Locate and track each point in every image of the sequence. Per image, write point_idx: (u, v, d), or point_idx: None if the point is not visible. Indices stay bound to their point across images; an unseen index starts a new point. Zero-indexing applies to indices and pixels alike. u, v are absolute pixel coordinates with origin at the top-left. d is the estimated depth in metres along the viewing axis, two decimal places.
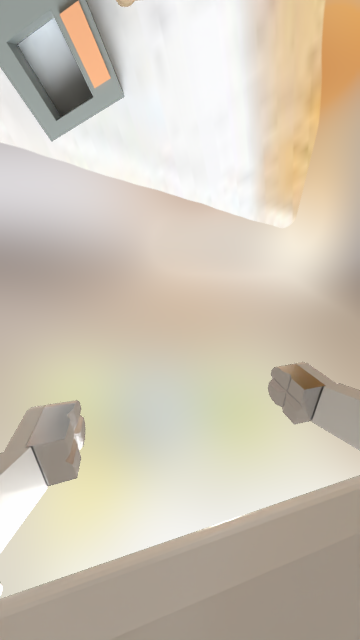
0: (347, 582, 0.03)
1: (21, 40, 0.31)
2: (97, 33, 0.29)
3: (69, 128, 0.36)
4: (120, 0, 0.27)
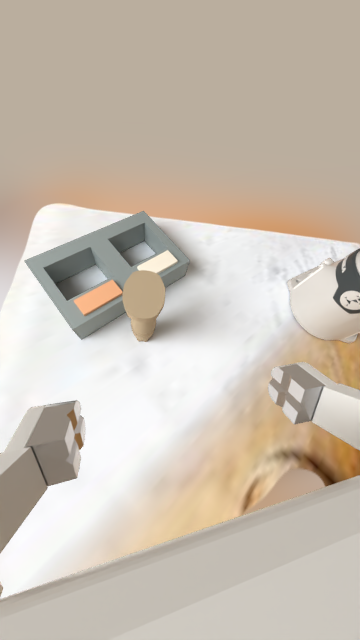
0: (347, 582, 0.03)
1: (98, 266, 0.41)
2: (110, 305, 0.33)
3: (37, 277, 0.33)
4: None
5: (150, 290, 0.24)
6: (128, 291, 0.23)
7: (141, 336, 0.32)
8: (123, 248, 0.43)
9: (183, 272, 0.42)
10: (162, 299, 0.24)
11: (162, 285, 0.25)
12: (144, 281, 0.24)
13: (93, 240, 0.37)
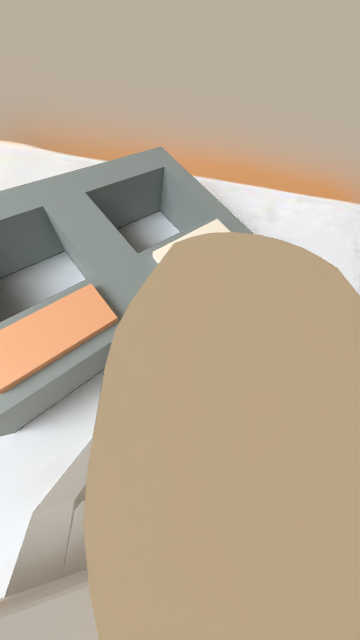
0: None
1: (68, 254, 0.20)
2: (82, 356, 0.12)
3: None
4: None
5: (324, 379, 0.03)
6: (150, 413, 0.02)
7: None
8: (121, 222, 0.22)
9: None
10: None
11: None
12: (259, 308, 0.03)
13: (51, 193, 0.16)
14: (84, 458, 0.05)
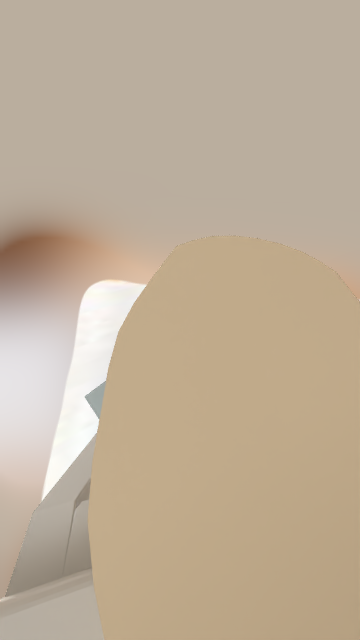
0: None
1: None
2: None
3: None
4: None
5: (322, 380, 0.03)
6: (152, 414, 0.02)
7: None
8: None
9: None
10: None
11: None
12: (258, 311, 0.03)
13: None
14: (84, 458, 0.05)
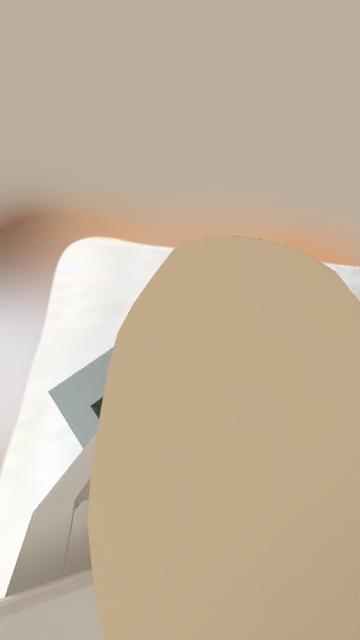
0: None
1: None
2: None
3: (80, 436, 0.14)
4: None
5: (322, 381, 0.03)
6: (153, 414, 0.02)
7: None
8: None
9: None
10: None
11: None
12: (258, 311, 0.03)
13: None
14: (84, 458, 0.05)
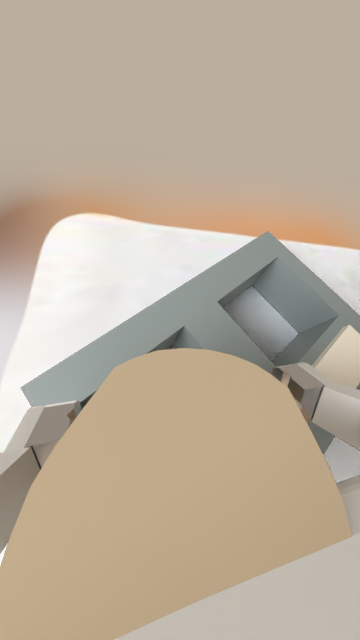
0: (347, 582, 0.03)
1: None
2: None
3: None
4: None
5: (250, 540, 0.03)
6: (48, 599, 0.02)
7: None
8: (223, 306, 0.21)
9: None
10: None
11: (321, 475, 0.03)
12: (193, 447, 0.03)
13: (187, 308, 0.16)
14: None
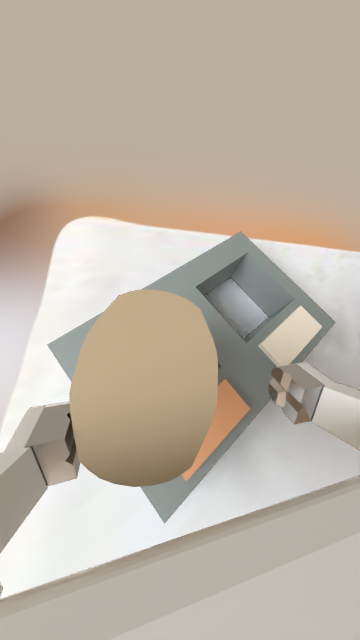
0: (347, 582, 0.03)
1: None
2: (229, 442, 0.16)
3: None
4: None
5: (173, 358, 0.07)
6: (96, 365, 0.07)
7: None
8: (204, 293, 0.26)
9: None
10: (210, 395, 0.07)
11: (208, 342, 0.08)
12: (152, 327, 0.08)
13: (171, 291, 0.20)
14: None
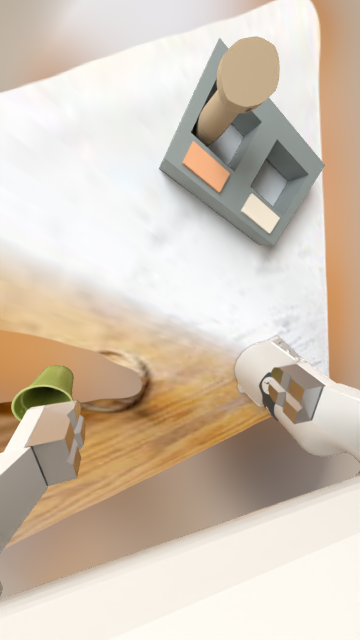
0: (347, 582, 0.03)
1: (242, 141, 0.35)
2: (201, 185, 0.32)
3: (204, 74, 0.27)
4: None
5: (256, 82, 0.21)
6: (249, 47, 0.19)
7: (198, 125, 0.29)
8: (272, 161, 0.37)
9: (260, 242, 0.41)
10: (247, 103, 0.21)
11: (264, 98, 0.21)
12: (265, 68, 0.20)
13: (270, 121, 0.31)
14: None
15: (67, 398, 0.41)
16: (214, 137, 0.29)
